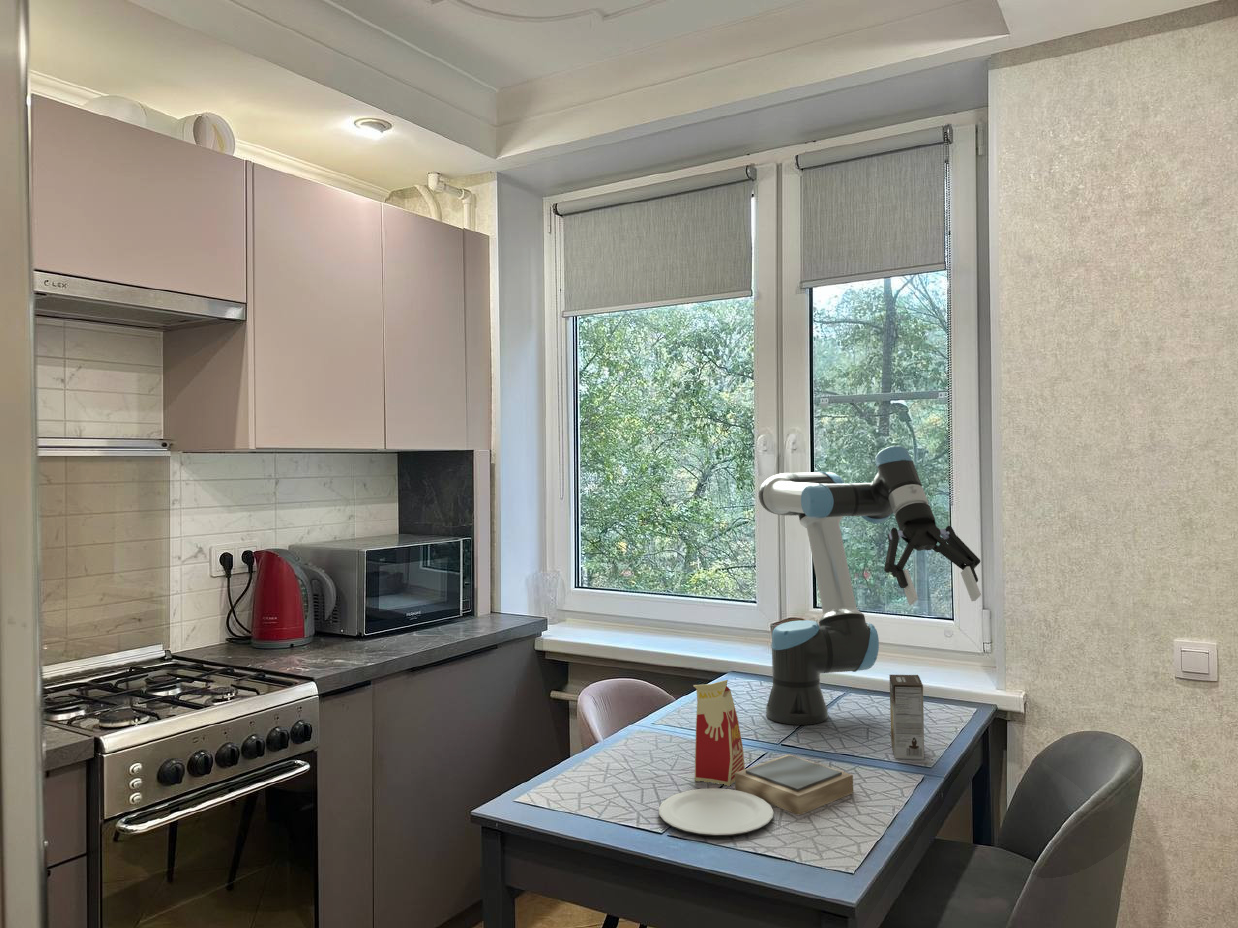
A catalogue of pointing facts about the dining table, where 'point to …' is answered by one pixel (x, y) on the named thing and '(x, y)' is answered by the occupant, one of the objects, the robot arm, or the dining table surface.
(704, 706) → the milk carton
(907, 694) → the coffee box
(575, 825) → the dining table surface
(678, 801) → the plate
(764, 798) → the oak plinth
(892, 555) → the robot arm
